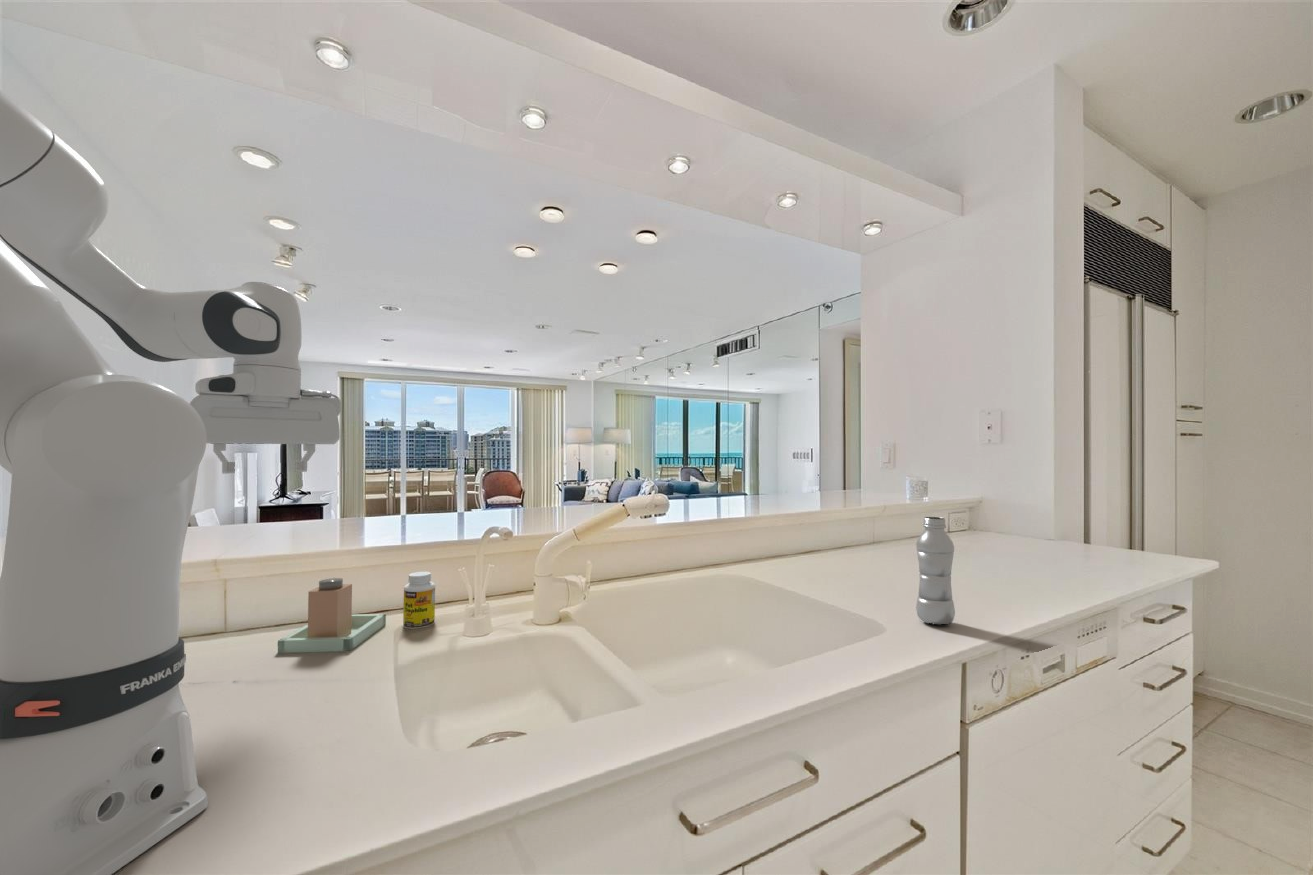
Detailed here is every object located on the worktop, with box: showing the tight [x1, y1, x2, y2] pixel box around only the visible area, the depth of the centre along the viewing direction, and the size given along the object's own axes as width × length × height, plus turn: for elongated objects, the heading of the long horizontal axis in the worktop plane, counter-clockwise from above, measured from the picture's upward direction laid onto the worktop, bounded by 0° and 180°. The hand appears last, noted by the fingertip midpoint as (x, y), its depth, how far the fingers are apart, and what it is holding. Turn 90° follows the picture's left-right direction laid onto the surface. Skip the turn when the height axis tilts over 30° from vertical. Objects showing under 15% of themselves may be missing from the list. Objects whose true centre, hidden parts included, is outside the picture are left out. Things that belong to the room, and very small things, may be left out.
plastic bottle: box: [915, 516, 956, 625], centre depth 100 cm, size 6×7×20 cm
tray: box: [277, 613, 387, 654], centre depth 90 cm, size 13×11×2 cm
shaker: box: [307, 577, 353, 638], centre depth 88 cm, size 5×5×10 cm
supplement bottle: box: [402, 571, 436, 629], centre depth 97 cm, size 5×5×10 cm
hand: (266, 472), depth 84 cm, fingers open, 8 cm apart
